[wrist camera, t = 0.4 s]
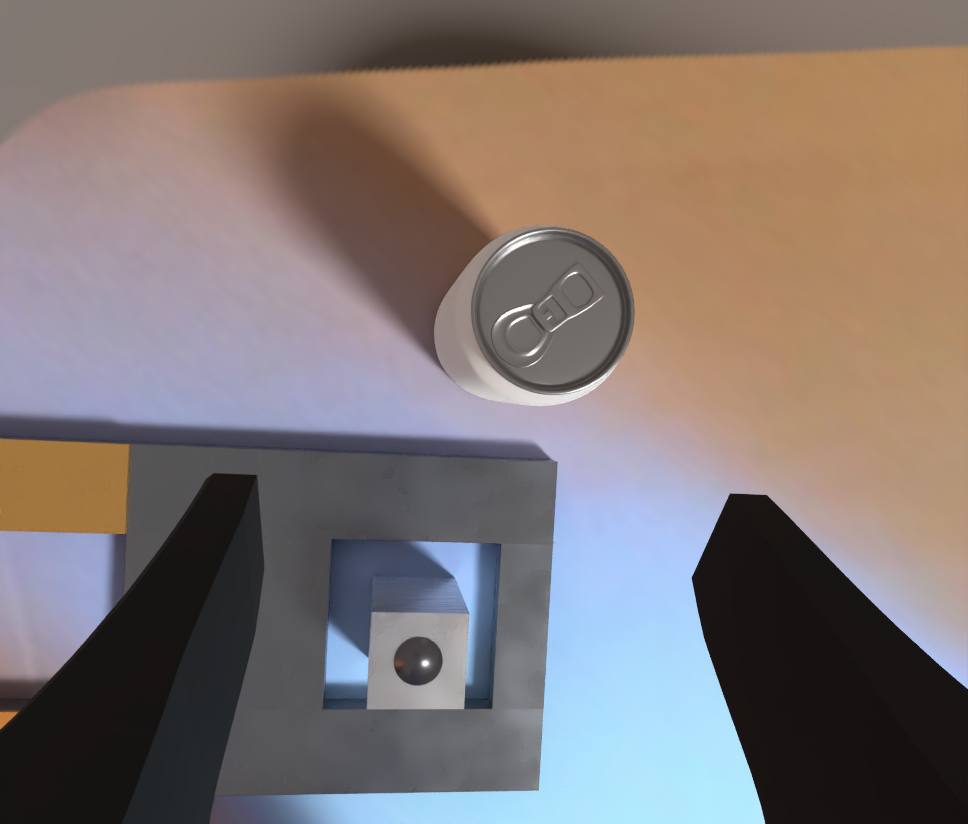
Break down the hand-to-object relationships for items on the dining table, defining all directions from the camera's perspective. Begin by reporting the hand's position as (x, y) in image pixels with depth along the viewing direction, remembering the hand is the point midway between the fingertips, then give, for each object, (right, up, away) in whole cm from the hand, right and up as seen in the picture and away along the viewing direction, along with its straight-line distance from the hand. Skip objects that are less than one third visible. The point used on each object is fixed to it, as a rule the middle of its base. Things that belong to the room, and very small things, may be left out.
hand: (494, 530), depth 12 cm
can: (+1, +6, +26) cm, 27 cm away
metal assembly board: (-12, -8, +24) cm, 28 cm away
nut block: (-4, -8, +26) cm, 27 cm away
